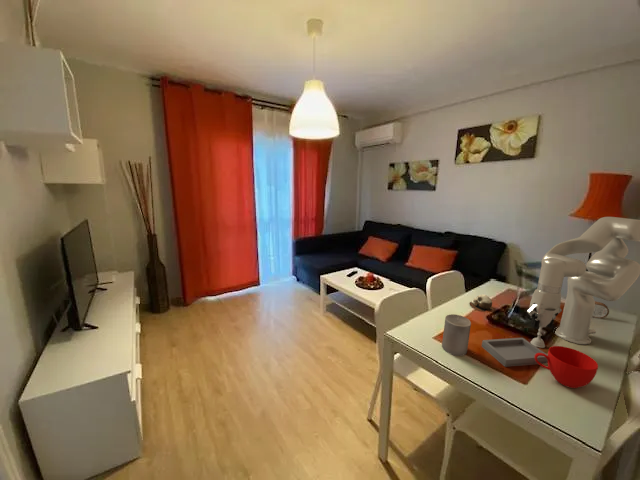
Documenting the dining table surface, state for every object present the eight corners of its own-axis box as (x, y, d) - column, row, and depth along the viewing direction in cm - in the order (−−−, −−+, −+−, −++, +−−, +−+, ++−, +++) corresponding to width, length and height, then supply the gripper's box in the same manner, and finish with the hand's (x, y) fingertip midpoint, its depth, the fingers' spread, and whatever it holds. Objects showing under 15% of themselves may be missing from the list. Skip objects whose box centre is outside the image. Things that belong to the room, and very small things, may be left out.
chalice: (551, 350, 115) (560, 311, 111) (533, 348, 116) (541, 309, 112) (541, 340, 122) (549, 303, 118) (524, 338, 123) (531, 301, 119)
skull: (463, 302, 157) (473, 288, 157) (471, 311, 160) (482, 298, 161) (481, 311, 146) (492, 296, 146) (490, 321, 149) (501, 306, 150)
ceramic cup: (525, 362, 107) (530, 340, 105) (580, 374, 101) (587, 351, 99) (536, 385, 96) (542, 360, 93) (599, 400, 89) (607, 374, 87)
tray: (521, 343, 120) (522, 337, 119) (548, 363, 107) (550, 356, 106) (481, 346, 117) (482, 340, 117) (504, 366, 105) (506, 359, 104)
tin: (605, 318, 143) (609, 303, 141) (607, 320, 140) (612, 305, 138) (568, 310, 151) (571, 296, 149) (569, 312, 148) (572, 298, 146)
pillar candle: (447, 339, 122) (450, 309, 119) (470, 349, 115) (475, 317, 112) (438, 349, 116) (441, 317, 112) (462, 359, 109) (467, 326, 105)
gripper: (558, 283, 118) (550, 321, 122) (522, 285, 116) (515, 323, 120) (576, 290, 110) (567, 330, 115) (538, 292, 108) (530, 333, 113)
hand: (541, 326), depth 117 cm, fingers closed on chalice, 5 cm apart
